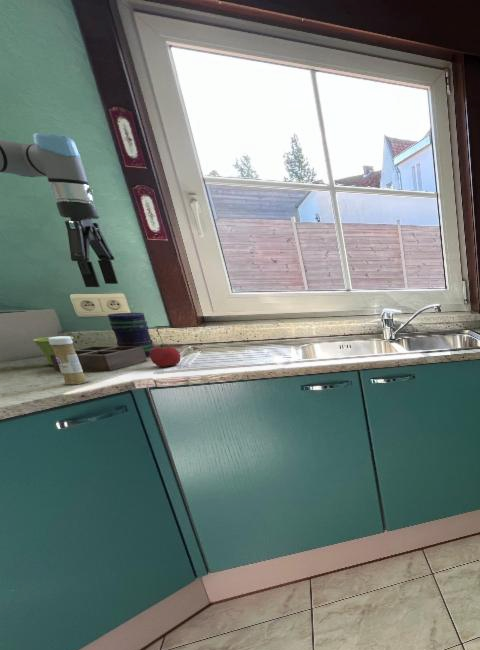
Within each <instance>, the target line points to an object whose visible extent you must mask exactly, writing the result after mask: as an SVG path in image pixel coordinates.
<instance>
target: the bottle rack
mask: <svg viewBox="0 0 480 650" xmlns="http://www.w3.org/2000/svg"><path fill="white" fill-rule="evenodd" d="M75 352H76V354H77V357H78V359H79V362H80V365H81V367H82V370H83V372H112V371H115V370H119V369H123V368H126V367H131V366H134V365H138V364H142V363H145V362H148V357H146V355H145V352H144V349H143V347H130V346H118V345H115V346H110V345H92V346H91V345H90V346H87V347H81V348H76V349H75ZM50 357H51V360H52V362H53V365H54V366H53V365H52V366H53V368H54V371H55V372H61V370H60V367H59V364H58V362H57V359H56V356H55V354H52V355H50Z"/></svg>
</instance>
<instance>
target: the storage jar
mask: <svg viewBox="0 0 480 650" xmlns="http://www.w3.org/2000/svg"><path fill="white" fill-rule="evenodd" d="M107 317H108V320H109V321H108V322H109V325H110V327H111V330H112V331H113V333H114V337H115V338H116V339H115V340H116V346H130V347H143V349H144V352H145V355H146V358H150V354H149V353H150V350H151V349H153V348H155V347H156V346H155V344H154V342H153V340H152V339H151V335H150V332H149V326H148V321H147V320H146V317H145V313H144V312H117V313H110V314H107Z"/></svg>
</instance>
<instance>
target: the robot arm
mask: <svg viewBox="0 0 480 650" xmlns="http://www.w3.org/2000/svg"><path fill="white" fill-rule="evenodd" d="M32 136H33V143H24V142H18V141H17V142H16V141H10V140H6V139H0V173H4V174H13V175H16V176H20V177H25V178H27V177H28V178H36V177H37V178H38V177H39V178H40V177H46V178H47V181H48V184H49V188H50V190H51V191H50V192H51V194H52V197H53V199H55V200H57V201H56V203H55V205H56V207H57V208H56V209H57V211H58V214H59V216H60V217H62V218H69V219H70V220H64V224H65V227H66V230H67V237H68V245H69V246H68V247H69V252H70V259H71V260H70V261H72V262H76V263H77V265H78V269H79V272H80V274H81V277H82V281H83V283H84V287H85V288H100V287H101V285H100V283H99V279H98V276H97V273H96V271H95V268H94V265H93V261H90V247H91V249H92V251H93V252H94V254H95V255H96V257H97V258H98V259H97V262H98V263H97V264H98V265H99V269H100V271H101V274H102V277H103V281H104V284H105V285H119V281H118V278H117V275H116V272H115V269H114V266H113V263H112V261H115V256H114V255H113V253H112V251H111V248H110V247H109V245H108V243H107V241H106V239H105V236H104V235H103V233H102V231H101V229H100V226H99V223H98V222H93V220H98V219H100V214H99V213H98V209H97V206H96V205H95V204H94V203H93V202H94V201H95V200H94V197H93V195H92V194H94V190H93V189H91V188H90V184H89V181H88V178H87V175H86V171H85V168H84V164H83V161H82V159H81V157H82V156H81V155H80V152H79V150H78V147H77V145H76V142H75V141H74V140H73V139H72V138H71V137H69V136H66V135H62V134H55V133H49V132H35V133H34V134H33V135H32Z"/></svg>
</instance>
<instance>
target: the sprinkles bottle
mask: <svg viewBox="0 0 480 650" xmlns="http://www.w3.org/2000/svg"><path fill="white" fill-rule="evenodd" d="M69 336H70V335H68V336H67V335H58V336H49V337H50V338H48V340H49V343H50V345H51V346H52V348H53V350H54V353H55V356H56V359H57V362H58V364H59V367H60V370H61V371H60V372H61V375H62V377H63V380H64V384H66V385H69V386H70V385H80V384H84V383H86V382H87V379H86V377H85V374H84V371H83V370H82V367H81V365H80V362H79V359H78V357H77V354H76V352H75V350H76V349H75V347H74V340H73V341H72V339H71V337H72V336H71V337H69ZM72 343H73V344H72Z"/></svg>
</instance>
